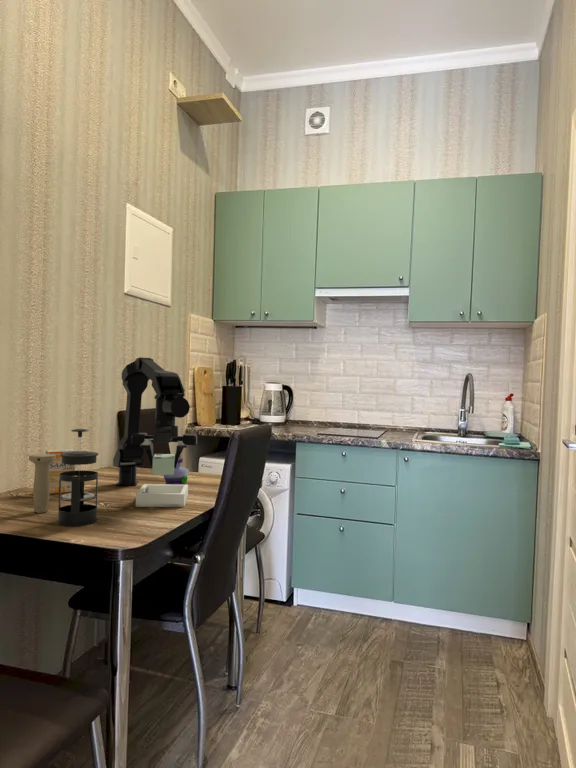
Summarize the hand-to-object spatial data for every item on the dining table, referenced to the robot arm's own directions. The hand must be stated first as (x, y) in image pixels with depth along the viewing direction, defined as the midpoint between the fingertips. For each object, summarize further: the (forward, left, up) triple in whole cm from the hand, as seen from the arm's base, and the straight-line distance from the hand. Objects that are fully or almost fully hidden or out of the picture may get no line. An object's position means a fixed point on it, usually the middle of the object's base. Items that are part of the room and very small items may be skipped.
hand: (163, 468), depth 163 cm
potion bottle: (-15, +2, -10) cm, 18 cm away
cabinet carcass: (0, 0, -10) cm, 10 cm away
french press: (+24, -18, -10) cm, 32 cm away
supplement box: (-12, -33, -10) cm, 36 cm away
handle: (+14, -30, -10) cm, 35 cm away
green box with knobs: (0, 0, -1) cm, 1 cm away
